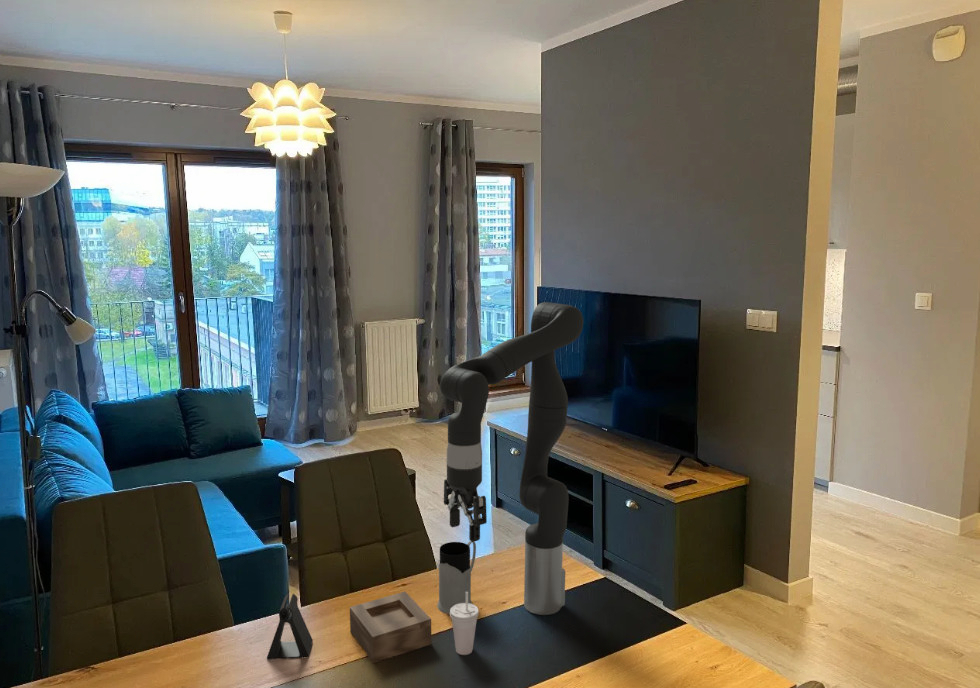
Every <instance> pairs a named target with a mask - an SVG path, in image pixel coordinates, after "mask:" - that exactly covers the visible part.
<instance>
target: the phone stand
mask: <svg viewBox="0 0 980 688" xmlns="http://www.w3.org/2000/svg"><path fill="white" fill-rule="evenodd" d="M289 596H290V595H289V593H288V594H286V595H285V596H284V597H283V601H282V604H281V606H280V609H279V611H278V617H279V622H278V625H277V628H276V630H275V633H274V636H273V639H272V642H271V643H270V644H271V645H270V647H269V651H268V654H267V656H266V659H267V660H286V659H289V658H290V659H305V658H304V657H308V658H309V656H310V653H311V649H312V646H313V641H314V640H313V638H312V636H311V633H310V631H309V628H308V626H307V624H306V621H305V619H304V617H303V615H302V613H301V610H300V608H299V606H298V600H299V599H298V596H297V595H296V594H294V593H292V594H291V598H290V601H289V603H287V602H288V599H289ZM285 624H289V627H290V629H291V632H292V636H293V638H294V640H291V641H281V640H282V636H283V633H284V629H285ZM302 657H303V658H302Z"/></svg>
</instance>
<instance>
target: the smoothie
mask: <svg viewBox="0 0 980 688" xmlns="http://www.w3.org/2000/svg"><path fill="white" fill-rule="evenodd" d="M479 611H480V610H479V607H477V606H476V605H475V604H473V603H472V604H470V603H468V592H466V603H459V604H456V605H454V606H453V607H452V608H451V609H450V614H449V616H450V618H451V623H452V631H453V638H454V646H455V653H457V654H458V655H461V656H467V655H470V654H471V653H472V652H473V649H474V641H475V635H476V634H475V633H476V627H477V626H476V625H477V621H478V617H479V616H480V615H479V614H480V613H479Z"/></svg>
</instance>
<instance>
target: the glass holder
mask: <svg viewBox="0 0 980 688" xmlns="http://www.w3.org/2000/svg"><path fill="white" fill-rule="evenodd" d="M471 545H472V546H473V549H472V558H471ZM476 550H477V545H476V541H474V542H471V541H470V540H469V541H468V542H467V543H465V542H461V541H450V542H445V543H444V544H442V545H441V546H440V547H439V564H438V601H437V605H436V607H437V609H438V610H439V611H440V612H442V613H443V614H447V615H450V609H451V608H452V607H453V606H454V605H456V604H459V603H466V592H468V603H470V604H473V601H472V599H471V597H472V596H471V595H472V593H471V592H472V589H471V588H472V584H471V583H472V578H471V577H472V572H473V568H474V566H475V565H474V564H475V561H476V553H477V551H476Z"/></svg>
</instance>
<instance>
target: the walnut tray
mask: <svg viewBox="0 0 980 688" xmlns="http://www.w3.org/2000/svg"><path fill="white" fill-rule="evenodd" d="M349 629H350V630H349V631H350V633H351V634H352V636H353V637H354V639H355V640H356V641H357V643H358V644H359V645H360V647H361V648H362V649H364V650H365V651H364V650H363V651H364V652H365V654H366V653H367V654H366V655H367V657H368V658H369V659H370V661H371V660H372V661H371V662H372V663H373V664H375V663H377V662H381V661H384V660H387V659H390V658H394V657H397V656H398V655H403V654H405V653H409V652H411V651H415V650H418V649H421V648H423V647H427V646H430V645H432V618H431V617H430V615H428V614H427V613H426V611H424V610H423V608H421V607H420V605H419V604H418V603H417V602H416V601H415V600H414V599H413V598H412V597H411V596H410V595H409V593H407V592H406V591H402V592H398V593H394V594H391V595H388V596H385V597H381V598H377V599H374V600H370V601H366V602H363V603H358V604H355V605H352V606H350V607H349ZM393 656H394V657H393ZM386 658H387V659H386ZM383 659H384V660H383Z"/></svg>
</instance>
